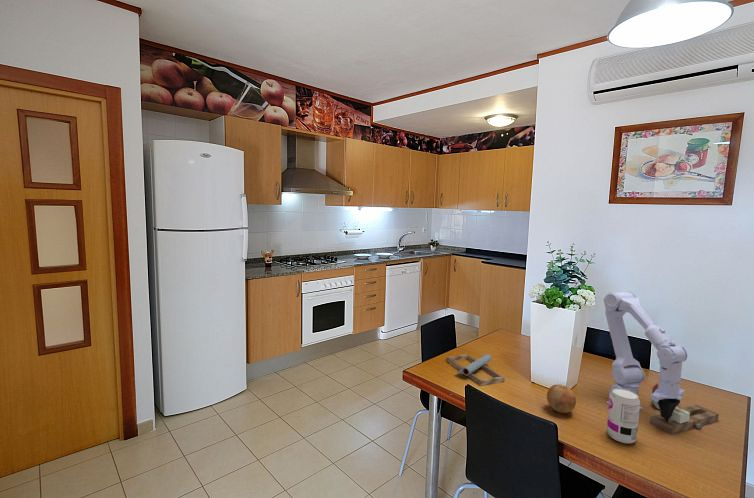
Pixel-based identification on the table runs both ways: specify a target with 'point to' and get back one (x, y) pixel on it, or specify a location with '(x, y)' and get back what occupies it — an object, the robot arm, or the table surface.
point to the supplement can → (623, 415)
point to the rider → (679, 416)
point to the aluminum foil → (475, 365)
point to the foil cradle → (497, 376)
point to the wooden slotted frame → (696, 420)
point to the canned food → (653, 392)
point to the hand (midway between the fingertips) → (665, 417)
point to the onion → (561, 398)
